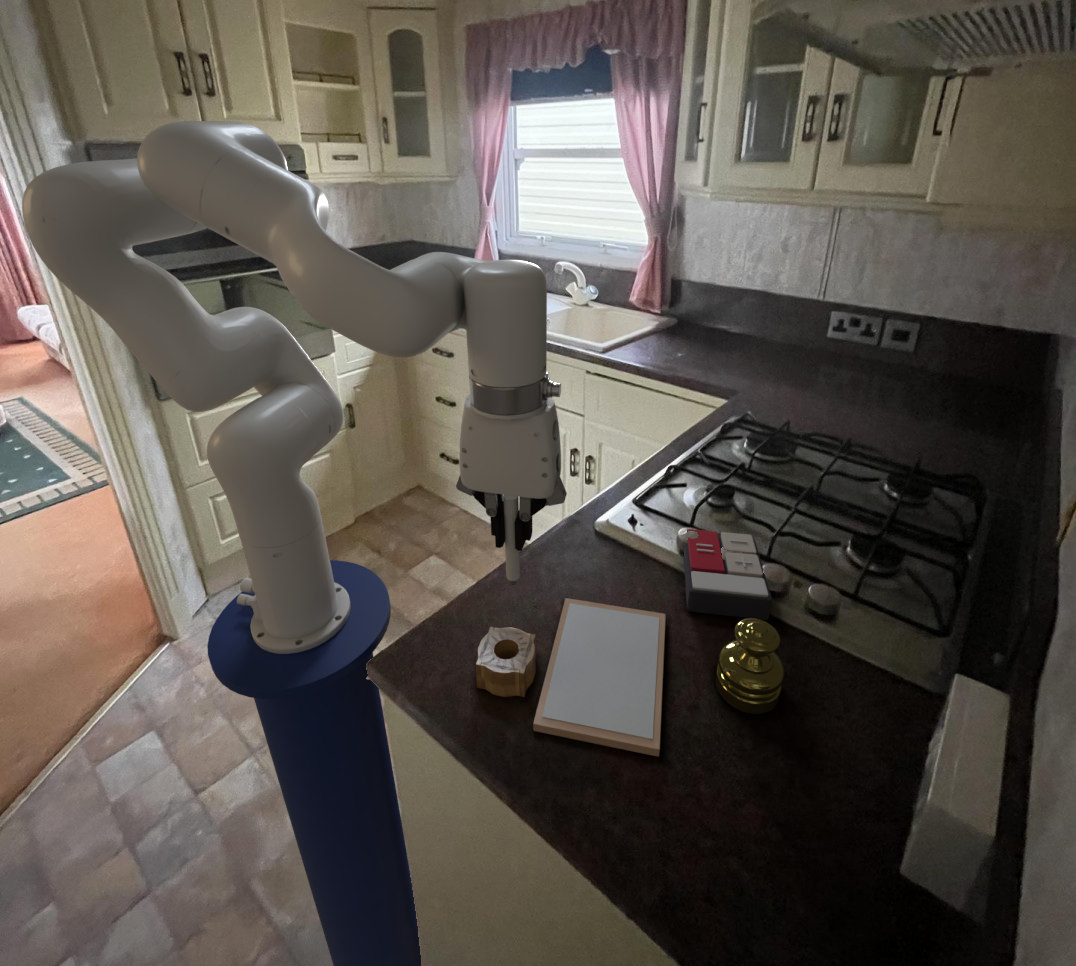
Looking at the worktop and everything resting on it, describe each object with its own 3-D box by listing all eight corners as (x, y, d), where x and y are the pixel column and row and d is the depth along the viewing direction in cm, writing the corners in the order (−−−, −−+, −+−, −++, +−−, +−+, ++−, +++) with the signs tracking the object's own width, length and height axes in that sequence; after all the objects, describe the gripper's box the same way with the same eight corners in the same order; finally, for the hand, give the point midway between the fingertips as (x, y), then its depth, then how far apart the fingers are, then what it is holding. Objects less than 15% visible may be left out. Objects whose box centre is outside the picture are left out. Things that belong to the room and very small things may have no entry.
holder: (471, 690, 72) (469, 667, 71) (488, 645, 78) (487, 623, 77) (527, 701, 71) (527, 677, 69) (540, 655, 77) (540, 632, 75)
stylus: (504, 586, 68) (501, 499, 63) (508, 577, 69) (505, 490, 64) (518, 588, 68) (516, 501, 63) (521, 579, 69) (520, 492, 64)
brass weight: (702, 673, 74) (712, 612, 70) (752, 656, 76) (764, 597, 72) (739, 724, 68) (751, 661, 64) (792, 705, 70) (808, 642, 66)
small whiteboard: (533, 730, 67) (533, 723, 67) (565, 604, 85) (565, 597, 85) (658, 757, 65) (659, 748, 64) (664, 620, 82) (665, 613, 82)
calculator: (754, 531, 94) (773, 595, 80) (751, 554, 95) (769, 620, 82) (683, 525, 96) (690, 586, 82) (681, 547, 97) (687, 611, 83)
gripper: (593, 382, 60) (587, 530, 68) (446, 369, 63) (456, 512, 71) (581, 414, 53) (576, 575, 61) (418, 398, 57) (433, 553, 64)
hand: (512, 540), depth 66 cm, fingers closed on stylus, 1 cm apart
